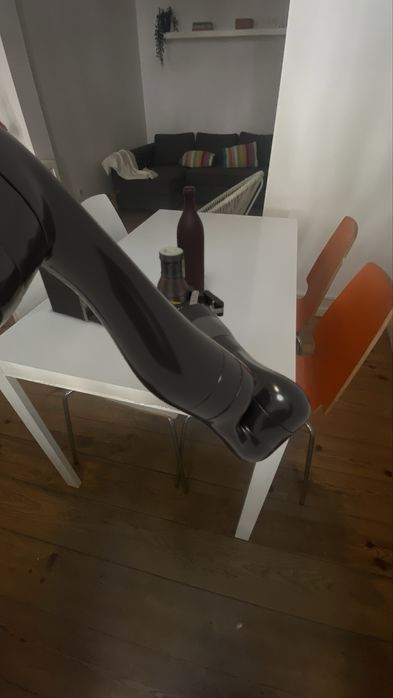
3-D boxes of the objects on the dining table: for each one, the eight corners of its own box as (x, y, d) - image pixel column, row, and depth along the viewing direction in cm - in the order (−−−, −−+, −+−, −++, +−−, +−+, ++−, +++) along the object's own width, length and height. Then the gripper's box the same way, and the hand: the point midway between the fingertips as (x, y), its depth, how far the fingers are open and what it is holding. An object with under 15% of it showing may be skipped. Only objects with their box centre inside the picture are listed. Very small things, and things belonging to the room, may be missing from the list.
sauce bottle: (153, 350, 64) (141, 254, 52) (167, 333, 68) (159, 241, 56) (183, 357, 62) (178, 259, 50) (195, 340, 66) (193, 245, 54)
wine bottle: (187, 293, 96) (183, 182, 77) (208, 298, 93) (209, 185, 75) (175, 303, 91) (168, 188, 72) (197, 309, 88) (195, 191, 70)
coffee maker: (130, 305, 91) (118, 233, 78) (102, 326, 82) (84, 250, 70) (82, 292, 97) (64, 224, 85) (52, 310, 89) (27, 238, 77)
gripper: (247, 307, 48) (202, 266, 60) (155, 329, 43) (127, 280, 56) (243, 346, 52) (202, 301, 65) (160, 370, 48) (133, 316, 60)
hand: (167, 291), depth 60 cm, fingers closed on sauce bottle, 6 cm apart
